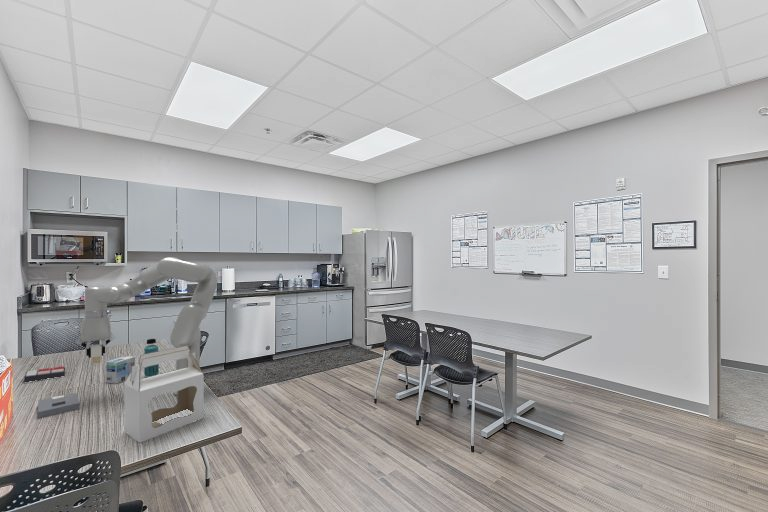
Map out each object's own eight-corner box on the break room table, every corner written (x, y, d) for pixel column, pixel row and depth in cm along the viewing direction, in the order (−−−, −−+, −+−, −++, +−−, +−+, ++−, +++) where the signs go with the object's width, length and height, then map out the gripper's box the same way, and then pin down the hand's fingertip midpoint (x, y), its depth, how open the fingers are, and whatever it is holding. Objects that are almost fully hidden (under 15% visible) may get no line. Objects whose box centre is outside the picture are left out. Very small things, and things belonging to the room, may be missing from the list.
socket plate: (78, 409, 144) (78, 401, 144) (38, 418, 136) (38, 410, 136) (76, 398, 156) (76, 390, 156) (38, 406, 147) (38, 398, 147)
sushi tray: (64, 370, 185) (24, 375, 175) (64, 378, 185) (23, 384, 175) (65, 365, 193) (26, 370, 183) (64, 373, 193) (26, 378, 183)
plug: (101, 362, 153) (101, 345, 153) (90, 364, 150) (91, 347, 150) (100, 360, 156) (100, 344, 156) (90, 362, 154) (90, 345, 154)
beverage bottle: (147, 380, 178) (147, 341, 178) (141, 378, 181) (141, 339, 181) (161, 376, 183) (161, 338, 183) (155, 374, 187) (155, 337, 187)
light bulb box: (116, 384, 173) (116, 362, 173) (105, 383, 174) (105, 361, 174) (135, 376, 183) (135, 356, 183) (125, 376, 185) (125, 355, 185)
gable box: (138, 443, 117) (138, 360, 117) (123, 432, 124) (123, 354, 124) (204, 418, 135) (204, 346, 135) (187, 409, 142) (187, 341, 143)
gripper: (118, 311, 162) (118, 351, 162) (70, 315, 150) (70, 358, 150) (120, 313, 156) (120, 354, 156) (71, 317, 145) (70, 361, 145)
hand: (95, 355), depth 153 cm, fingers closed on plug, 3 cm apart
